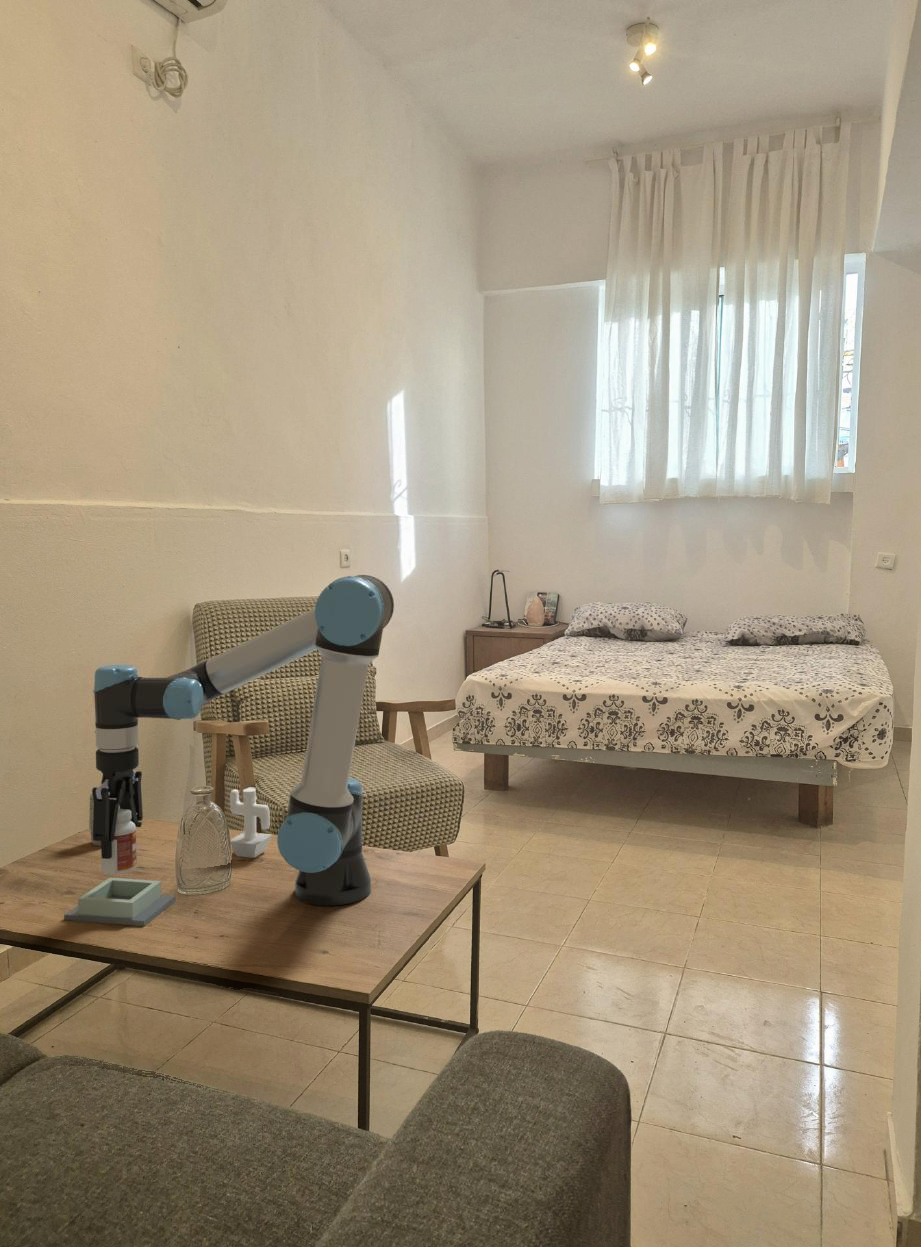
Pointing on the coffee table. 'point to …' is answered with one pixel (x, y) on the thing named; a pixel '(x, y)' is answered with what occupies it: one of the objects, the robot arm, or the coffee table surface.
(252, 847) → the figurine
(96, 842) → the carving
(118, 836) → the pill bottle
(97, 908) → the bottle holder
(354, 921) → the coffee table surface
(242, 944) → the coffee table surface
